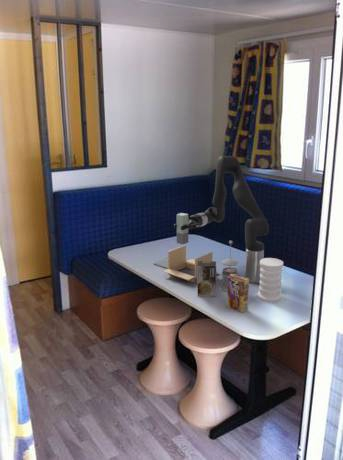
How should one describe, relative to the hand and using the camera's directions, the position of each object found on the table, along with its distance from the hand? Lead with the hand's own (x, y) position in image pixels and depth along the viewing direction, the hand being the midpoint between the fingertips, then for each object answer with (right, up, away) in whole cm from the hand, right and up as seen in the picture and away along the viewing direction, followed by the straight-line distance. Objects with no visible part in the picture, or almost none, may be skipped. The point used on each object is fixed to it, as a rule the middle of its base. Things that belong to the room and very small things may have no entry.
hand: (177, 227), depth 237 cm
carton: (+7, -26, +5) cm, 27 cm away
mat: (-5, -21, +20) cm, 30 cm away
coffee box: (+14, -33, -19) cm, 41 cm away
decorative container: (+44, -34, -23) cm, 60 cm away
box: (+3, -8, +5) cm, 10 cm away
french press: (+26, -31, -13) cm, 43 cm away
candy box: (+27, -37, -34) cm, 57 cm away
